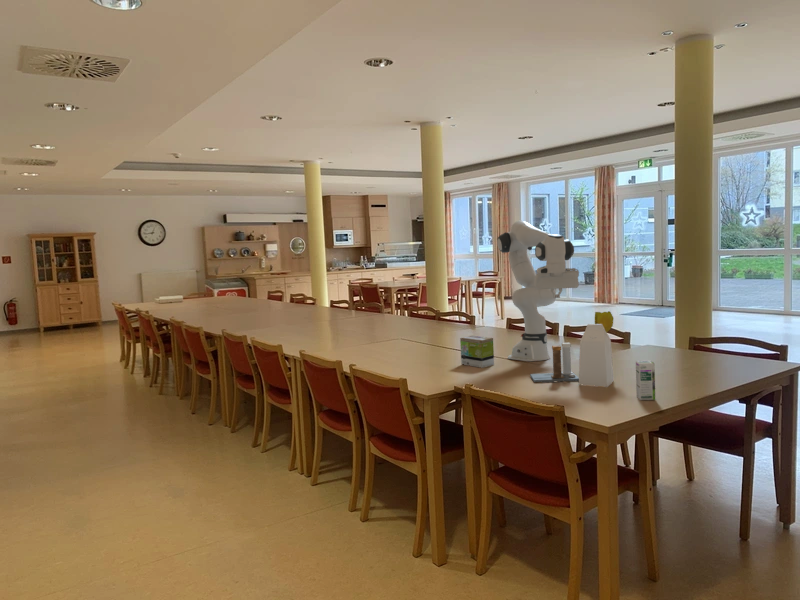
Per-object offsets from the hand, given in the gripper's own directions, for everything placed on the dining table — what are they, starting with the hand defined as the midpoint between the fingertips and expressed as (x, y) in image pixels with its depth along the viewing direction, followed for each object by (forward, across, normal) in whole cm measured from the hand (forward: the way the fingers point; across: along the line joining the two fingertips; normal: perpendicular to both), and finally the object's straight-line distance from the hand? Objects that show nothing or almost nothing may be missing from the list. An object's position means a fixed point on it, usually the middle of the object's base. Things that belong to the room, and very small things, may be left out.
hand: (556, 297), depth 277 cm
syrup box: (+34, -26, +52) cm, 67 cm away
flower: (+36, -20, +11) cm, 42 cm away
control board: (+35, +4, +14) cm, 38 cm away
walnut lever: (+34, +3, +17) cm, 38 cm away
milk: (+35, -13, +24) cm, 45 cm away
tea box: (+38, +38, -23) cm, 58 cm away
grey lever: (+34, -3, +10) cm, 36 cm away
